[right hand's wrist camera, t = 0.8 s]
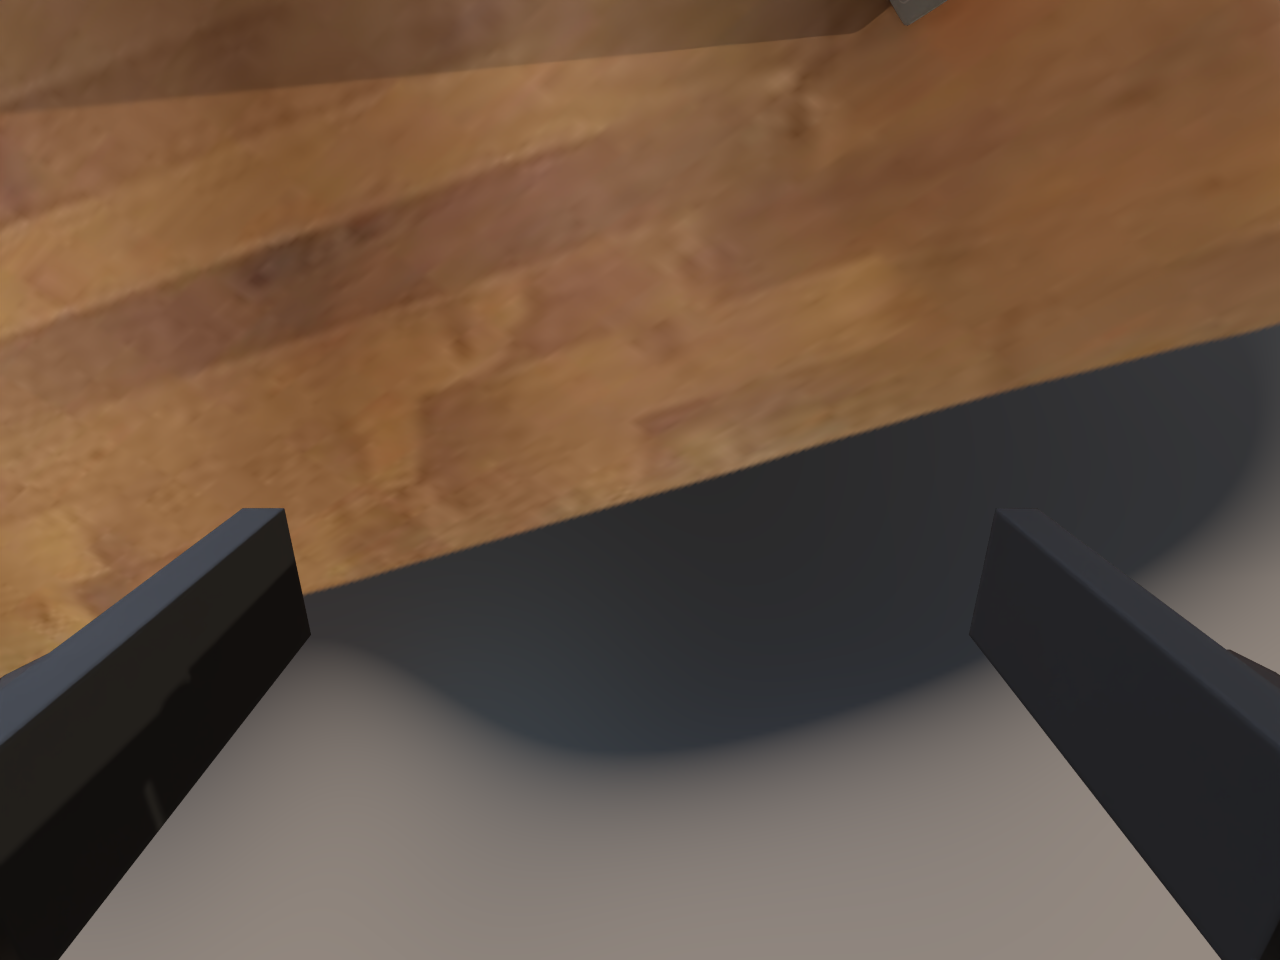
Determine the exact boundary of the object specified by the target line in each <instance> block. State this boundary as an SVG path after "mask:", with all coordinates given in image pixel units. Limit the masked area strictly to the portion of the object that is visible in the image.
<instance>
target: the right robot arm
mask: <svg viewBox="0 0 1280 960" xmlns="http://www.w3.org/2000/svg"><path fill="white" fill-rule="evenodd" d="M310 635H311V633H310V628H309V624H308V619H307V614H306V609H305V604H304V600H303V595H302V590H301V585H300V581H299V576H298V571H297V566H296V562H295V557H294V552H293V547H292V543H291V538H290V533H289V528H288V524H287V519H286V514H285V509H284V508H243V509H241V510H240V511H239V512H237V513H236V514H235V515H233V516H232V517H231V518H229V519H228V520H227V521H225V522H224V523H223V524H221V525H220V526H219V527H217V528H216V529H214V530H213V531H212V532H210V533H209V534H208V535H206V536H205V537H204V538H202V539H201V540H200V541H198V542H197V543H196V544H194V545H193V546H192V547H190V548H189V549H188V550H186V551H185V552H184V553H182V554H181V555H180V556H178V557H177V558H176V559H174V560H173V561H172V562H170V563H169V564H168V565H166V566H165V567H164V568H162V569H161V570H160V571H158V572H157V573H156V574H154V575H153V576H152V577H150V578H149V579H148V580H146V581H145V582H144V583H142V584H141V585H140V586H138V587H137V588H136V589H134V590H133V591H132V592H130V593H129V594H128V595H126V596H125V597H124V598H122V599H121V600H120V601H118V602H117V603H116V604H114V605H113V606H112V607H110V608H109V609H108V610H106V611H105V612H103V613H102V614H101V615H99V616H98V617H97V618H95V619H94V620H93V621H91V622H90V623H89V624H87V625H86V626H85V627H83V628H82V629H81V630H79V631H78V632H77V633H75V634H74V635H73V636H71V637H70V638H69V639H67V640H66V641H65V642H63V643H62V644H61V645H59V646H58V647H57V648H55V649H54V650H53V651H51V652H50V653H48V654H46V655H44V656H42V657H40V658H38V659H36V660H34V661H32V662H30V663H28V664H26V665H24V666H22V667H20V668H18V669H16V670H14V671H12V672H10V673H8V674H6V675H5V676H3V677H2V678H0V960H59V958H60V957H61V956H62V954H63V953H64V952H65V951H66V949H67V948H68V947H69V945H70V944H71V943H72V942H73V940H74V939H75V938H76V936H77V935H78V934H79V933H80V931H81V930H82V929H83V927H84V926H85V925H86V924H87V922H88V921H89V920H90V918H91V917H92V916H93V915H94V913H95V912H96V911H97V909H98V908H99V907H100V906H101V904H102V903H103V902H104V900H105V899H106V898H107V897H108V895H109V894H110V893H111V891H112V890H113V889H114V887H115V886H116V885H117V884H118V882H119V881H120V880H121V879H122V877H123V876H124V875H125V873H126V872H127V871H128V870H129V868H130V867H131V866H132V864H133V863H134V862H135V860H136V859H137V858H138V857H139V855H140V854H141V853H142V851H143V850H144V849H145V848H146V846H147V845H148V844H149V842H150V841H151V840H152V839H153V837H154V836H155V835H156V833H157V832H158V831H159V830H160V828H161V827H162V826H163V824H164V823H165V822H166V821H167V819H168V818H169V817H170V815H171V814H172V813H173V812H174V810H175V809H176V808H177V806H178V805H179V804H180V803H181V801H182V800H183V799H184V797H185V796H186V795H187V794H188V792H189V791H190V790H191V788H192V787H193V786H194V785H195V783H196V782H197V781H198V779H199V778H200V777H201V776H202V774H203V773H204V772H205V770H206V769H207V768H208V767H209V765H210V764H211V763H212V761H213V760H214V759H215V758H216V756H217V755H218V754H219V752H220V751H221V750H222V749H223V747H224V746H225V745H226V743H227V742H228V741H229V740H230V738H231V737H232V736H233V734H234V733H235V732H236V731H237V729H238V728H239V727H240V725H241V724H242V723H243V722H244V720H245V719H246V718H247V716H248V715H249V714H250V713H251V711H252V710H253V709H254V707H255V706H256V705H257V703H258V702H259V701H260V700H261V698H262V697H263V696H264V695H265V693H266V692H267V691H268V689H269V688H270V687H271V686H272V684H273V683H274V682H275V680H276V679H277V678H278V677H279V675H280V674H281V673H282V671H283V670H284V669H285V668H286V666H287V665H288V664H289V662H290V661H291V660H292V659H293V657H294V656H295V655H296V653H297V652H298V651H299V649H300V648H301V647H302V646H303V644H304V643H305V642H306V640H307V639H308V638H309V637H310ZM969 635H970V637H971V638H972V639H973V640H974V642H975V643H976V644H977V646H978V647H979V648H980V649H981V651H982V652H983V653H984V655H985V656H986V657H987V658H988V660H989V661H990V662H991V664H992V665H993V666H994V667H995V669H996V670H997V671H998V673H999V674H1000V675H1001V676H1002V678H1003V679H1004V680H1005V682H1006V683H1007V684H1008V686H1009V687H1010V688H1011V689H1012V691H1013V692H1014V693H1015V695H1016V696H1017V697H1018V698H1019V700H1020V701H1021V702H1022V704H1023V705H1024V706H1025V707H1026V709H1027V710H1028V711H1029V713H1030V714H1031V715H1032V716H1033V718H1034V719H1035V720H1036V722H1037V723H1038V724H1039V725H1040V727H1041V728H1042V729H1043V731H1044V732H1045V733H1046V734H1047V736H1048V737H1049V738H1050V740H1051V741H1052V742H1053V743H1054V745H1055V746H1056V747H1057V749H1058V750H1059V751H1060V752H1061V754H1062V755H1063V756H1064V758H1065V759H1066V760H1067V761H1068V763H1069V764H1070V765H1071V767H1072V768H1073V769H1074V770H1075V772H1076V773H1077V774H1078V776H1079V777H1080V778H1081V779H1082V781H1083V782H1084V783H1085V785H1086V786H1087V787H1088V788H1089V790H1090V791H1091V792H1092V794H1093V795H1094V796H1095V797H1096V799H1097V800H1098V801H1099V803H1100V804H1101V805H1102V806H1103V808H1104V809H1105V810H1106V812H1107V813H1108V814H1109V815H1110V817H1111V818H1112V819H1113V821H1114V822H1115V823H1116V825H1117V826H1118V827H1119V828H1120V830H1121V831H1122V832H1123V834H1124V835H1125V836H1126V837H1127V839H1128V840H1129V841H1130V843H1131V844H1132V845H1133V846H1134V848H1135V849H1136V850H1137V851H1138V853H1139V854H1140V855H1141V857H1142V858H1143V859H1144V861H1145V862H1146V863H1147V864H1148V866H1149V867H1150V868H1151V870H1152V871H1153V872H1154V873H1155V875H1156V876H1157V877H1158V879H1159V880H1160V881H1161V882H1162V884H1163V885H1164V886H1165V888H1166V889H1167V890H1168V891H1169V893H1170V894H1171V895H1172V897H1173V898H1174V899H1175V900H1176V902H1177V903H1178V904H1179V906H1180V907H1181V908H1182V909H1183V911H1184V912H1185V913H1186V915H1187V916H1188V917H1189V918H1190V920H1191V921H1192V922H1193V924H1194V925H1195V926H1196V927H1197V929H1198V930H1199V931H1200V933H1201V934H1202V935H1203V936H1204V938H1205V939H1206V940H1207V942H1208V943H1209V944H1210V945H1211V947H1212V948H1213V949H1214V950H1215V952H1216V953H1217V954H1218V956H1219V957H1220V958H1221V960H1280V675H1279V674H1277V673H1276V672H1274V671H1272V670H1270V669H1268V668H1266V667H1264V666H1262V665H1260V664H1258V663H1256V662H1254V661H1252V660H1250V659H1248V658H1246V657H1244V656H1242V655H1240V654H1238V653H1236V652H1234V651H1232V650H1226V649H1225V648H1223V647H1222V646H1221V645H1219V644H1218V643H1217V642H1215V641H1214V640H1213V639H1211V638H1210V637H1209V636H1207V635H1206V634H1205V633H1203V632H1202V631H1201V630H1199V629H1198V628H1197V627H1195V626H1194V625H1193V624H1191V623H1190V622H1189V621H1187V620H1186V619H1184V618H1183V617H1182V616H1181V615H1179V614H1178V613H1176V612H1175V611H1174V610H1172V609H1171V608H1170V607H1168V606H1167V605H1166V604H1164V603H1163V602H1162V601H1160V600H1159V599H1158V598H1156V597H1155V596H1154V595H1152V594H1151V593H1150V592H1148V591H1147V590H1146V589H1144V588H1143V587H1142V586H1140V585H1139V584H1138V583H1136V582H1135V581H1134V580H1132V579H1131V578H1130V577H1128V576H1127V575H1126V574H1124V573H1123V572H1122V571H1120V570H1119V569H1118V568H1116V567H1115V566H1114V565H1112V564H1111V563H1110V562H1108V561H1107V560H1106V559H1104V558H1103V557H1102V556H1100V555H1099V554H1098V553H1096V552H1095V551H1094V550H1092V549H1091V548H1090V547H1088V546H1087V545H1086V544H1084V543H1083V542H1082V541H1080V540H1079V539H1078V538H1076V537H1075V536H1074V535H1072V534H1071V533H1070V532H1068V531H1067V530H1065V529H1064V528H1063V527H1061V526H1060V525H1059V524H1057V523H1056V522H1055V521H1053V520H1052V519H1051V518H1049V517H1048V516H1047V515H1045V514H1044V513H1043V512H1041V511H1040V510H1039V509H1037V508H996V509H995V514H994V519H993V524H992V528H991V533H990V538H989V543H988V548H987V552H986V557H985V562H984V567H983V571H982V576H981V581H980V585H979V590H978V595H977V600H976V604H975V609H974V614H973V619H972V623H971V628H970V633H969Z"/></svg>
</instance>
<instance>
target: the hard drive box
mask: <svg viewBox="0 0 1280 960" xmlns="http://www.w3.org/2000/svg"><path fill="white" fill-rule="evenodd" d="M945 1H947V0H890V2H891V4H892V5H893V7H894V9H895V11H896V12H897V14H898V16H899V18H900V19H901V21H902V22H903V24H904V25H907V26H908V25H910V24H911V23H913V22H915V21H916V20H918V19H919V18H921V17H922V16H924V15H926V14H927V13H929V12H930V11H932V10H933V9H935V8H936V7H938V6H939V5H941V4H942V3H944V2H945Z"/></svg>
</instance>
